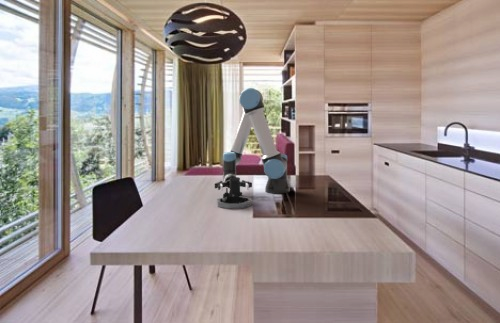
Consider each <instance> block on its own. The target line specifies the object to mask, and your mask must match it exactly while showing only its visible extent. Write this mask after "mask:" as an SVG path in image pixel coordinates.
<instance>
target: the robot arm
mask: <svg viewBox="0 0 500 323" xmlns="http://www.w3.org/2000/svg"><path fill="white" fill-rule="evenodd" d="M238 97H239V98H238V99H239V100H238V101H239V104H240V106H241V107H242V111H243V113H242V116H241V119H240V122H239V125H238V128H237V130H236V131H237V132H236V134H235V136H234V141H233V142H232V146H231V149H230V151H228V152H227V151H226V152H224V153H223V154H222V156H223V157H222V165H223V168H222V173H223V174H222V180H219V181H217V182H215V183H214V189H218V190H219V191H220V192H223V189H224V188H228V189H230V178H231V177H237V169H236V168H237V166H238V165H240V164H241V162H242V157H243V153H244V150H245V147H246V144H247V140H248V139H249V135H250V132H251V130H252V128H253V131H254V134H255V136H256V140H257V143H258V146H259V148H260V151H261V154H262V157H261V162H262V165H263V172H264V174H265V175H266V177H267V181H266V185H265V188H264V190H265V192H266V193H268V194H287V193H290V191H291V190H290V189H291V187H290V185H289V182H288V155H286V154H283V153H281V152H280V151H278V149H277V147H276V144H275V142H274V138H273V136H272V132H271V130H270V127H269V124H268V122H267V119H266V116H265V114H264V110H265V105H264V103H263V102H264V101H263V100H264V97H263V94H262V93H261V91H259V90H258V89H256V88H252V87H248V88H245V89H243V90H242V91H241V93H240V95H239V96H238ZM239 182H240V188H241V187H242V188H245V189H246V190H247V191H249V189H250V188H253V182H251V181H246V180H239ZM218 190H217V191H218Z"/></svg>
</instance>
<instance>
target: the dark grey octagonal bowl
mask: <svg viewBox="0 0 500 323" xmlns="http://www.w3.org/2000/svg"><path fill="white" fill-rule="evenodd" d="M222 199H223V197H220V198H217V199H216V205H217V207H219V208H223V209H226V210H229V209H231V210H233V209H234V210H235V209H236V210H237V209H246V208H248V207H252V206H253V200H252V198H251V197H247V196H240V197H239V203H225V202H223V200H222Z"/></svg>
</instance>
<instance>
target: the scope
mask: <svg viewBox="0 0 500 323" xmlns="http://www.w3.org/2000/svg"><path fill="white" fill-rule="evenodd" d="M239 181H240V182H241V178H240V177H237V176H236V177H231V178H230V188H228V187H225V191H224V193H223V194H222V198H223V199H222V200H223V202H225V203H239V197H240V196H241V197H243V192H242V191H241V186H240V182H239ZM228 189H229V190H228Z"/></svg>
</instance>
